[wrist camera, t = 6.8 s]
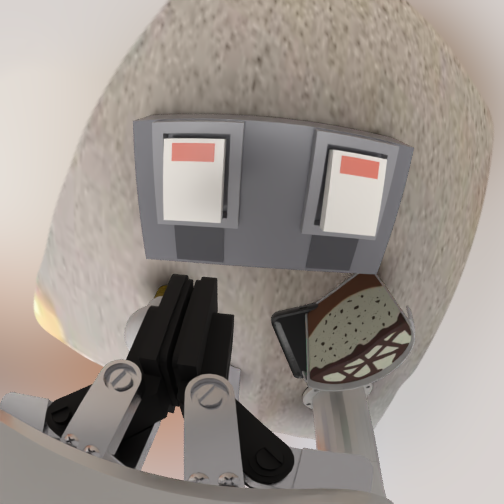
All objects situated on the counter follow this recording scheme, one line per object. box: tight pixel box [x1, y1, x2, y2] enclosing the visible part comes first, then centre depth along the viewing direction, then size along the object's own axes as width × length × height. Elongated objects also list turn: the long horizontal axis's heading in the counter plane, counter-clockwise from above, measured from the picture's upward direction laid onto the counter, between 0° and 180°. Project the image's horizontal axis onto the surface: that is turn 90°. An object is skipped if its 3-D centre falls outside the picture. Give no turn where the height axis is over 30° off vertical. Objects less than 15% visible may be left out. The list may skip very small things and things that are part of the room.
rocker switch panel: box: [133, 114, 414, 274], centre depth 22 cm, size 12×21×5 cm, turn 86°
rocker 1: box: [163, 138, 227, 223], centre depth 18 cm, size 6×4×1 cm
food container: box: [302, 273, 415, 391], centre depth 27 cm, size 12×6×10 cm, turn 137°
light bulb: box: [124, 285, 168, 351], centre depth 27 cm, size 6×6×10 cm
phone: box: [271, 303, 318, 378], centre depth 35 cm, size 8×1×15 cm
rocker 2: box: [320, 149, 387, 236], centre depth 18 cm, size 6×4×1 cm
